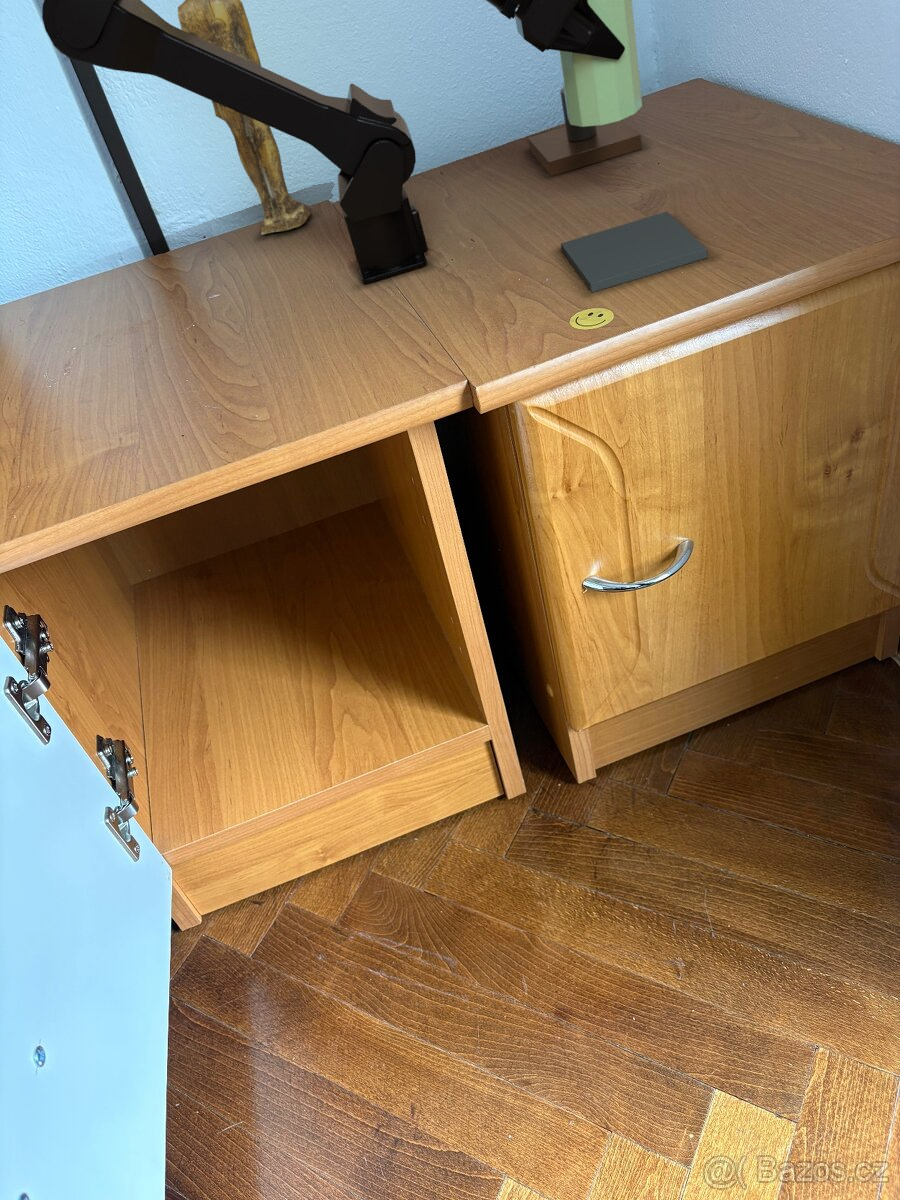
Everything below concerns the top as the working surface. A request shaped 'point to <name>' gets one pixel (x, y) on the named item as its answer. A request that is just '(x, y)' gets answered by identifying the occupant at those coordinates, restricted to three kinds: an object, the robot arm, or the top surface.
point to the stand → (582, 144)
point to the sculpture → (225, 24)
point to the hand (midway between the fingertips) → (612, 45)
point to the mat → (632, 251)
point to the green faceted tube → (604, 73)
